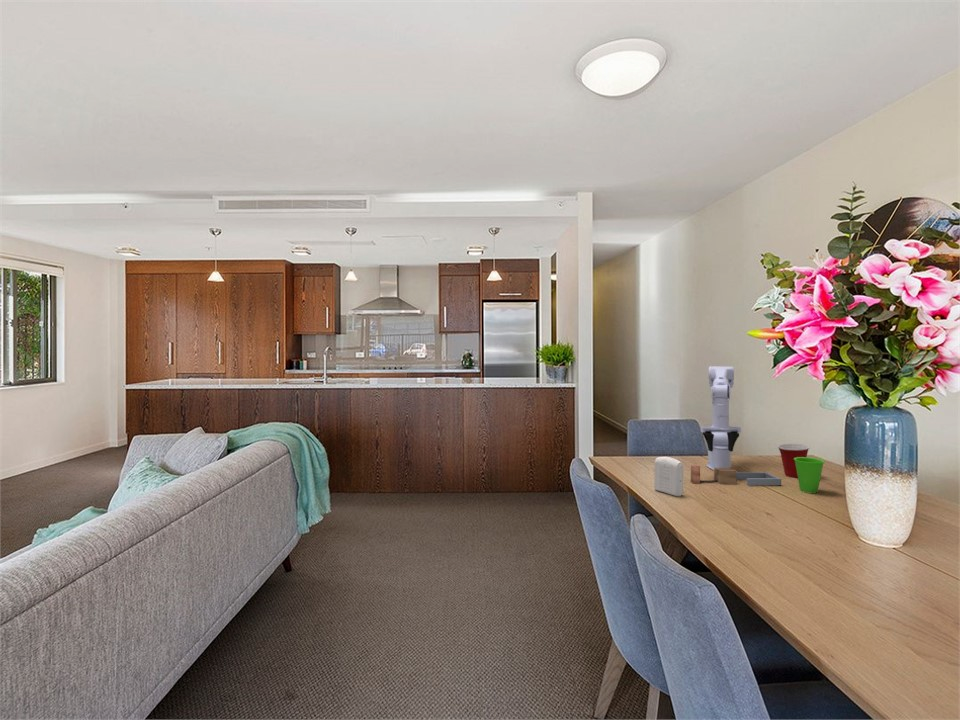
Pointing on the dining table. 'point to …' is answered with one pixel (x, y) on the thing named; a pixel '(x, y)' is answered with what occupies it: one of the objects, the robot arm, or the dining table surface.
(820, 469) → the cup
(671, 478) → the photo printer
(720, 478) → the tethered block
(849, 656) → the dining table surface
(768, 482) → the grey u-shaped bracket
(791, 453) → the plastic cup
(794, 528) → the dining table surface
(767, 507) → the dining table surface
